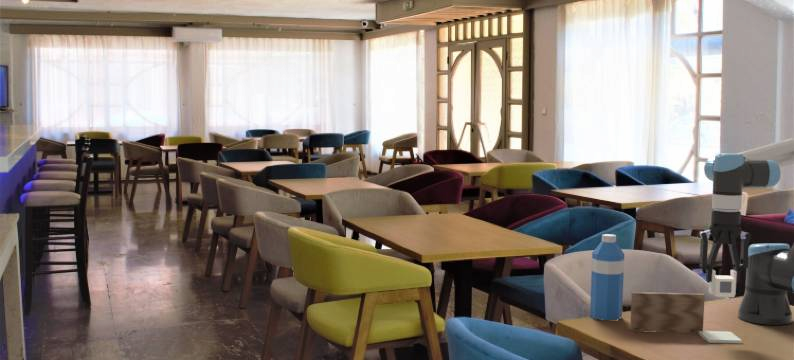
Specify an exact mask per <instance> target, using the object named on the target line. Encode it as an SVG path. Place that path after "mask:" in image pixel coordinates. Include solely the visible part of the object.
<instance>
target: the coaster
mask: <svg viewBox="0 0 794 360" xmlns="http://www.w3.org/2000/svg"><path fill="white" fill-rule="evenodd" d="M698 335H699V336H700V337H701V338H703V340H704V341H706V342H707V343H711V344H712V343H713V344H718V343H719V344H720V343H721V344H742V343H743V340H742V339H741V338H740V337H739V336H737V335H736V334H734V332H732V331H724V330H723V331H722V330H721V331H720V330H719V331H718V330H715V331H714V330H703V331H699V334H698Z"/></svg>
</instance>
